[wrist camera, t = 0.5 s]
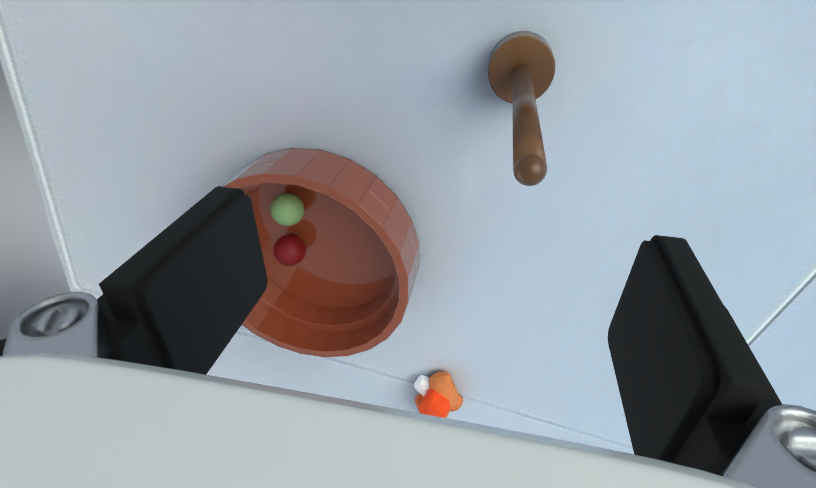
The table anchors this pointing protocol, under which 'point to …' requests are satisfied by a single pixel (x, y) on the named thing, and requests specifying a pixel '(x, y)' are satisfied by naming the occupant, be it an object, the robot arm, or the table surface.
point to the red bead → (289, 250)
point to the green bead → (287, 209)
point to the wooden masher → (523, 97)
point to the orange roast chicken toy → (437, 395)
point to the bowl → (330, 254)
